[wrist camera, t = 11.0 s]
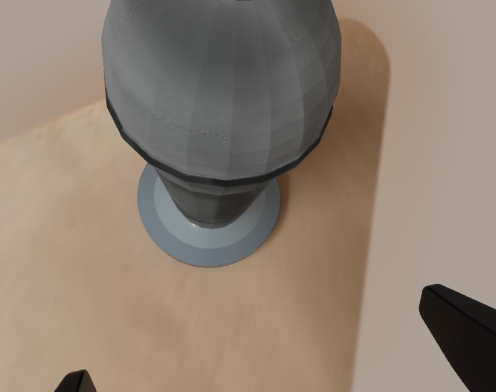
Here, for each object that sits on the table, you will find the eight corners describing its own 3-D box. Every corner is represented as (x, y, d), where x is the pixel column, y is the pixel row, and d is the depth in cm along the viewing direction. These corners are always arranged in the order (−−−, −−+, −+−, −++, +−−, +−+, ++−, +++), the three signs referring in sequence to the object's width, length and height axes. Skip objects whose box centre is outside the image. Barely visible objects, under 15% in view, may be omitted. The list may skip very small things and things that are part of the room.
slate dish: (293, 247, 23) (298, 244, 22) (155, 284, 21) (153, 283, 20) (255, 127, 25) (258, 118, 24) (129, 152, 23) (125, 143, 22)
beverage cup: (265, 143, 23) (531, -539, 5) (272, 250, 21) (848, -231, 2) (155, 140, 22) (-79, -741, 4) (149, 252, 20) (-549, -541, 1)
